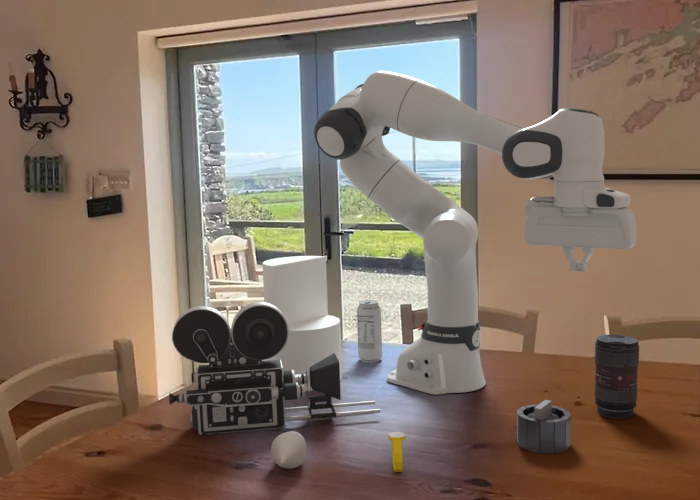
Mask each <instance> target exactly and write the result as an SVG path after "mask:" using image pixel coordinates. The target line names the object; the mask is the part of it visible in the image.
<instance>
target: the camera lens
mask: <svg viewBox="0 0 700 500" xmlns="http://www.w3.org/2000/svg"><path fill="white" fill-rule="evenodd" d="M595 340H596V341H595V344H594V365H595V374H594V375H595V379H594V400H595V401H594V403H595V405H596V406H597V407H596V408H597V413H598V414H599V415H601V416H603V417H605V418H610V419H627V418H630V417H633V416H634V411H635V408H636V407H637V402H638V401H637V400H638V370H639V369H638V368H639V363H640V361H639V360H640V345H639V339H637V338H635V337H632V336H628V335H622V334H621V335H619V334H601V335H598V336H597V337H596V339H595Z"/></svg>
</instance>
